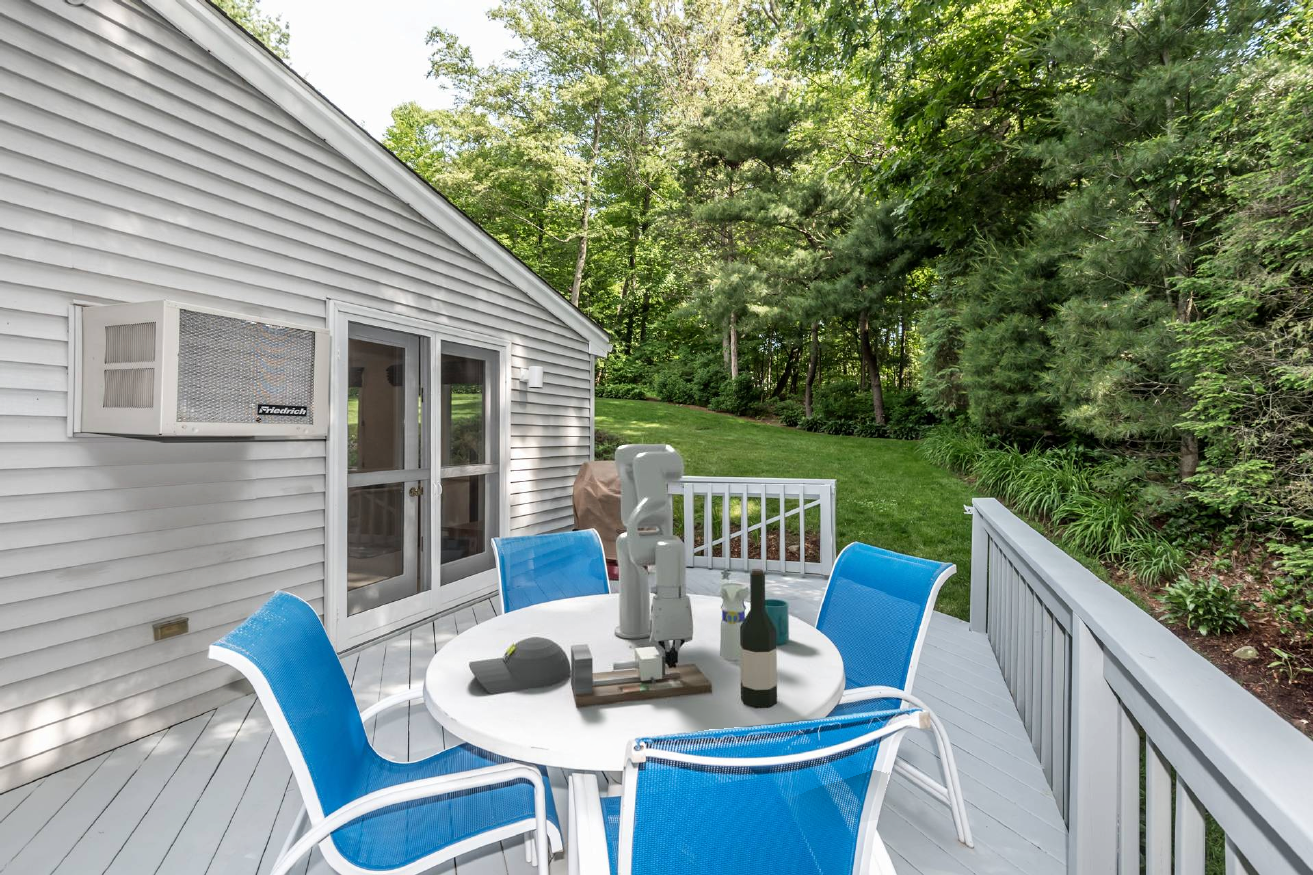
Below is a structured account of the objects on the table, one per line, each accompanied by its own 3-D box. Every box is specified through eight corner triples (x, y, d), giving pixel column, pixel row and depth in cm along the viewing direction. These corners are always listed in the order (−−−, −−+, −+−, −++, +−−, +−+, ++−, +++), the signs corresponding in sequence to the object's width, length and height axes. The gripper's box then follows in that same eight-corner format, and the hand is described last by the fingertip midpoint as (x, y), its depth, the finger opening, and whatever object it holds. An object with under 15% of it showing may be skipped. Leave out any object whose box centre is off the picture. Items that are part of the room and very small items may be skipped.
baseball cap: (463, 664, 159) (475, 619, 160) (558, 676, 168) (569, 633, 169) (467, 692, 141) (481, 640, 143) (573, 703, 150) (585, 655, 151)
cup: (773, 650, 172) (772, 610, 172) (752, 637, 183) (752, 600, 184) (800, 646, 175) (800, 607, 175) (778, 634, 187) (778, 597, 187)
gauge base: (570, 683, 150) (570, 642, 150) (694, 671, 157) (694, 632, 157) (576, 707, 136) (575, 662, 136) (711, 692, 143) (711, 650, 143)
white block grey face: (611, 670, 149) (611, 650, 149) (658, 666, 152) (658, 646, 152) (618, 687, 139) (617, 665, 139) (668, 681, 142) (668, 660, 142)
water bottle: (749, 662, 163) (748, 569, 163) (717, 660, 165) (716, 568, 165) (750, 651, 171) (750, 563, 171) (720, 649, 173) (719, 562, 173)
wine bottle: (779, 695, 141) (778, 567, 141) (774, 711, 133) (773, 574, 134) (744, 691, 144) (742, 565, 144) (737, 705, 136) (735, 572, 136)
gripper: (644, 597, 143) (644, 674, 143) (704, 592, 147) (705, 668, 147) (637, 589, 150) (638, 663, 150) (695, 585, 154) (695, 657, 154)
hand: (671, 665), depth 148 cm, fingers closed
